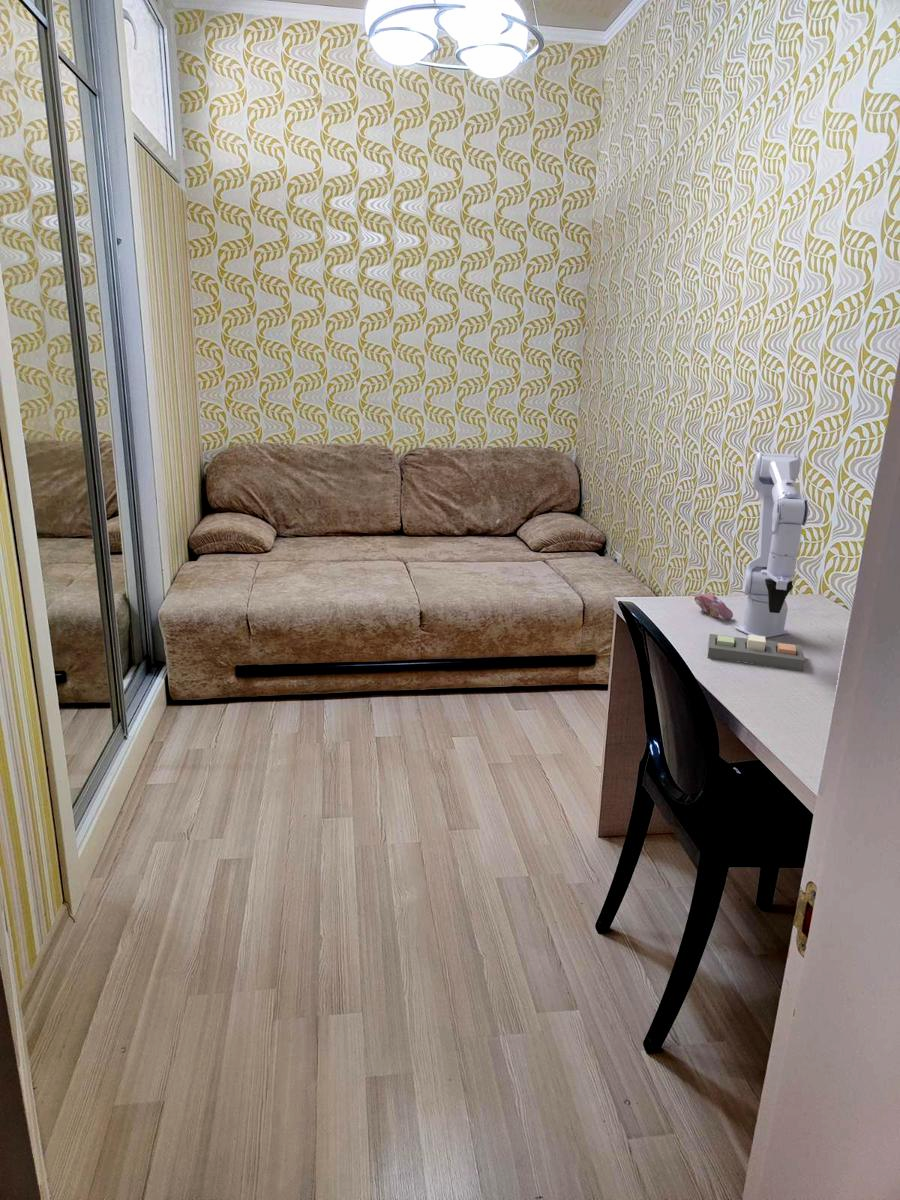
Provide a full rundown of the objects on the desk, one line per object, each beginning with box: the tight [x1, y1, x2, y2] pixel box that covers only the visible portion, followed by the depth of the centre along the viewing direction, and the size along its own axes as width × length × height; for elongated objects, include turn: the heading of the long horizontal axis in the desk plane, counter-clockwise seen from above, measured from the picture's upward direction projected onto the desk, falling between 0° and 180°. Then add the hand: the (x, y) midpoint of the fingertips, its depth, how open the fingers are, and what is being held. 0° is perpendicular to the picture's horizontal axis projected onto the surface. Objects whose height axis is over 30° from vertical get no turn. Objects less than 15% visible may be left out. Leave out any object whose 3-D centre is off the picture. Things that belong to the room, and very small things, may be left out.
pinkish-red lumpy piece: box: [694, 591, 734, 620], centre depth 206 cm, size 10×5×7 cm, turn 24°
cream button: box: [746, 634, 767, 651], centre depth 180 cm, size 4×4×3 cm
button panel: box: [707, 633, 806, 672], centre depth 180 cm, size 20×9×2 cm, turn 72°
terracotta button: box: [776, 642, 796, 655], centre depth 178 cm, size 4×4×3 cm
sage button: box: [716, 634, 735, 647], centre depth 182 cm, size 4×4×3 cm
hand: (774, 612), depth 178 cm, fingers closed
